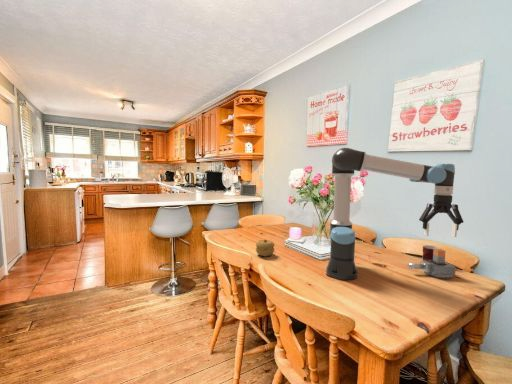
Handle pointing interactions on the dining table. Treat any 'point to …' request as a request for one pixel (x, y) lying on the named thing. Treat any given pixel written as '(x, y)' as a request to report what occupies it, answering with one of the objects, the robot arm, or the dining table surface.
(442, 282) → the dining table surface
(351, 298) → the dining table surface
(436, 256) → the grey orange upright block
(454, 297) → the dining table surface
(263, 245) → the brown round lump
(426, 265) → the grey machine vise
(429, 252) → the mug
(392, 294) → the dining table surface
